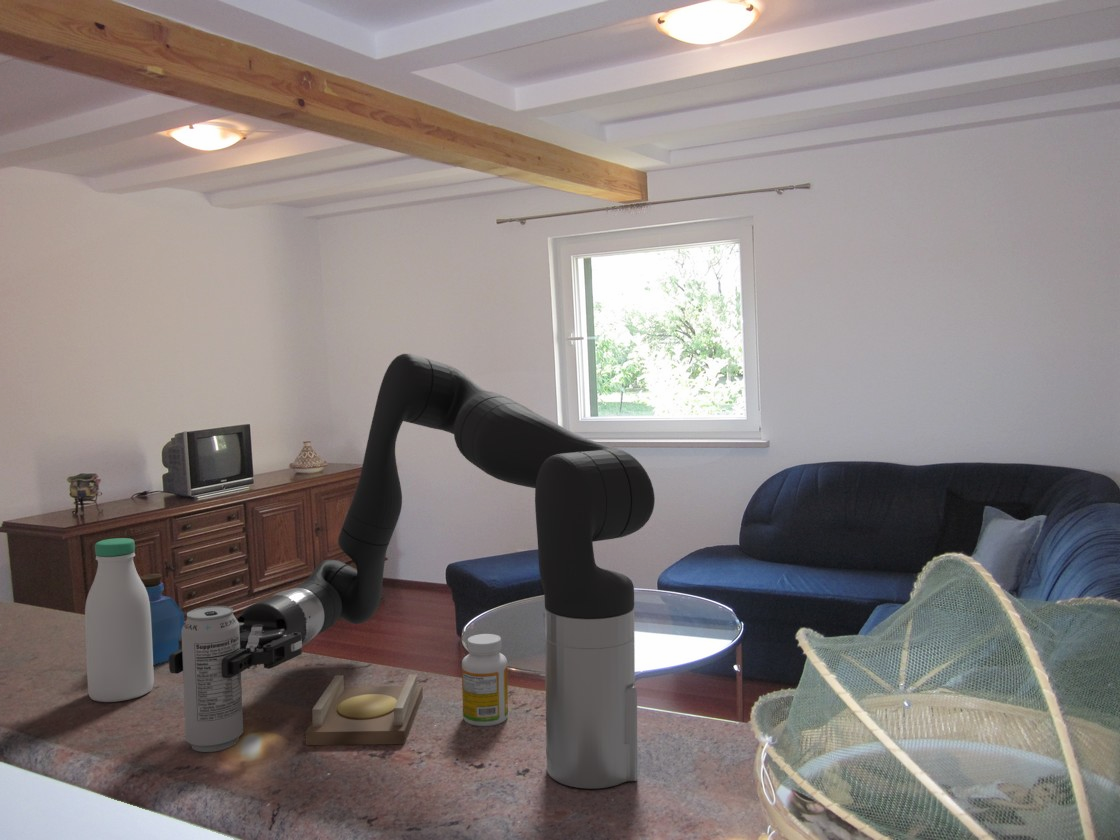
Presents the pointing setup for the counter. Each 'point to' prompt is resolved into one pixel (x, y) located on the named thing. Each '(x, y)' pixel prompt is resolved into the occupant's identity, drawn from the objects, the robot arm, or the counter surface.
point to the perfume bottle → (163, 619)
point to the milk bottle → (118, 626)
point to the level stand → (364, 713)
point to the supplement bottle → (484, 681)
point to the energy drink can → (211, 679)
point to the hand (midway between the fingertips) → (198, 667)
